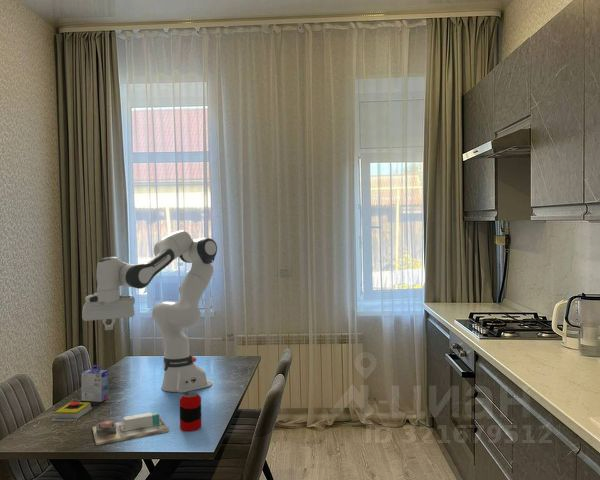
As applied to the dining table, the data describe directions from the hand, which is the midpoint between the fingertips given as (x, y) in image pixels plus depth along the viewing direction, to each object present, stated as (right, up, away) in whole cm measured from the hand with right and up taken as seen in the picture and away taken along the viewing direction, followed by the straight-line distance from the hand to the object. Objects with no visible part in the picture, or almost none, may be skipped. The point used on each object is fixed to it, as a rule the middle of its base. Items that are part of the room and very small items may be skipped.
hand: (109, 329), depth 211 cm
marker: (+21, -30, -26) cm, 45 cm away
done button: (+11, -30, -31) cm, 45 cm away
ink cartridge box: (-9, -31, +7) cm, 33 cm away
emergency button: (-10, -32, -10) cm, 35 cm away
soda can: (+39, -31, -26) cm, 57 cm away
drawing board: (+18, -31, -28) cm, 45 cm away
